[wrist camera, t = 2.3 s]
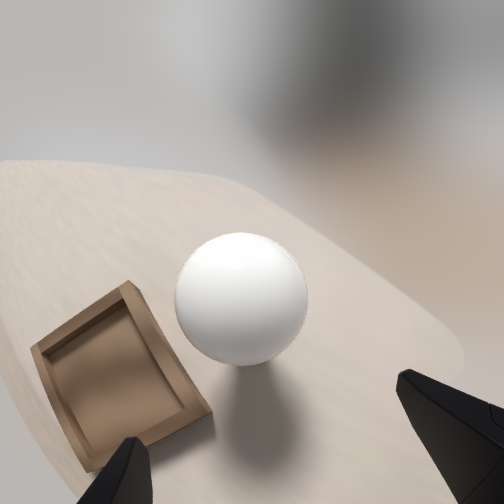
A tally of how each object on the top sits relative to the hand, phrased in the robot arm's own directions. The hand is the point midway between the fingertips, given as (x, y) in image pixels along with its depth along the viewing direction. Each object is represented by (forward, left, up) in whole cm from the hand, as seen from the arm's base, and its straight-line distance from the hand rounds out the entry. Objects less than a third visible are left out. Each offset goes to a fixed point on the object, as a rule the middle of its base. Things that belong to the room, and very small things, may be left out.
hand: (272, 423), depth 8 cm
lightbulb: (+5, -2, -12) cm, 13 cm away
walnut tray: (+7, +9, -12) cm, 17 cm away
